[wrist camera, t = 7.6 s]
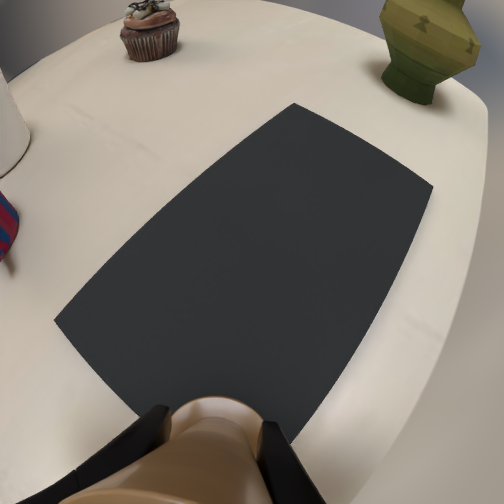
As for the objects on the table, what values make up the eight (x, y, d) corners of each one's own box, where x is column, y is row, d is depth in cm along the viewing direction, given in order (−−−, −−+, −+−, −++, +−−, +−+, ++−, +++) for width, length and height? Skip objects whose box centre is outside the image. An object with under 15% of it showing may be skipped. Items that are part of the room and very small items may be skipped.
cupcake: (194, 46, 39) (192, -6, 30) (146, 69, 35) (137, 10, 26) (158, 38, 41) (153, -9, 33) (114, 59, 38) (104, 9, 29)
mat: (430, 191, 27) (433, 186, 27) (244, 492, 15) (244, 496, 14) (292, 107, 32) (293, 102, 31) (58, 322, 19) (53, 319, 18)
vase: (358, 54, 42) (392, -82, 16) (435, 82, 42) (482, -39, 15) (366, 96, 35) (421, -90, 8) (460, 132, 34) (535, -20, 7)
